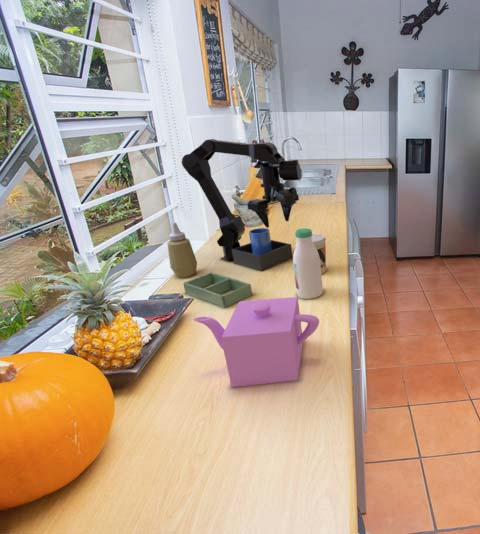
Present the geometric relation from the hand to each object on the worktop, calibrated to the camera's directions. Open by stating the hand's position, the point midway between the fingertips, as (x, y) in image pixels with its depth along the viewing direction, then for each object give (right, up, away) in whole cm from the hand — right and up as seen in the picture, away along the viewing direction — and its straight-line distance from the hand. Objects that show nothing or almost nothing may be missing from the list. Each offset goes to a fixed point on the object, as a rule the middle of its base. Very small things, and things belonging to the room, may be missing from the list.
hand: (277, 224), depth 140 cm
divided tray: (-11, -24, -23) cm, 35 cm away
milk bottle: (+17, -24, -23) cm, 37 cm away
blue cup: (-6, -13, +2) cm, 14 cm away
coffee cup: (+15, -17, -7) cm, 24 cm away
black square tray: (-6, -13, +3) cm, 15 cm away
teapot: (+15, -37, -54) cm, 67 cm away
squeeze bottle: (-28, -18, -9) cm, 35 cm away
